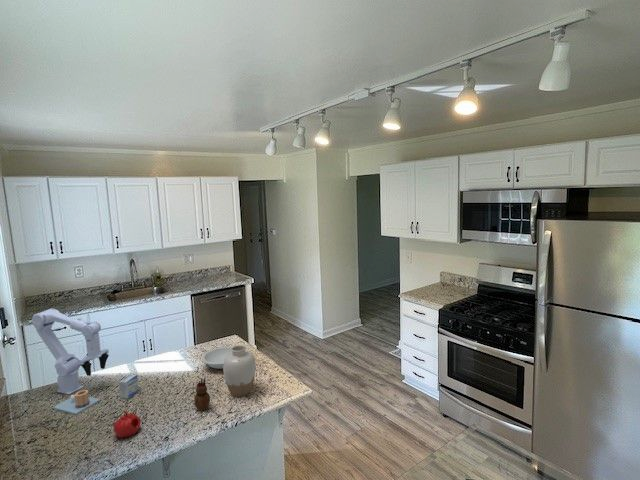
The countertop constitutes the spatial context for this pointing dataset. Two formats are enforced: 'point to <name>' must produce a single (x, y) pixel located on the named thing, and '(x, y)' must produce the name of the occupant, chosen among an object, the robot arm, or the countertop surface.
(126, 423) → the pomegranate
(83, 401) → the sleeve
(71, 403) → the pin board
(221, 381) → the countertop surface
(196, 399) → the wooden figurine
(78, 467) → the countertop surface
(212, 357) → the soup bowl
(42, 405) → the countertop surface
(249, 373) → the vase
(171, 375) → the countertop surface
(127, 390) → the medicine box
